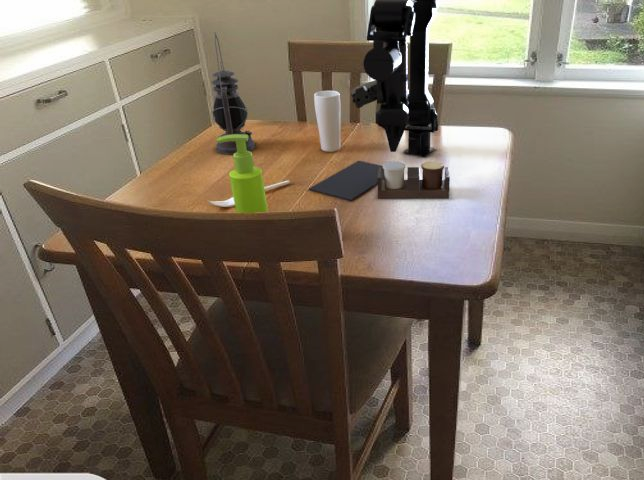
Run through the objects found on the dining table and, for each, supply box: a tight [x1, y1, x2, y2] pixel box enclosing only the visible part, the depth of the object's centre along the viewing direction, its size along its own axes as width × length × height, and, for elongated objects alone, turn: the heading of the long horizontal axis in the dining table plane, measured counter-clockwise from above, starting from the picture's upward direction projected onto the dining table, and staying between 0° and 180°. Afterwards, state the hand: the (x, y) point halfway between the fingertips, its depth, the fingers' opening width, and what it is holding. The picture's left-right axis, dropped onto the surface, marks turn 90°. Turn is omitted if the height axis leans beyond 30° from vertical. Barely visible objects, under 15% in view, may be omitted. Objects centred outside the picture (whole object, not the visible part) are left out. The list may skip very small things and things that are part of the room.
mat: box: [308, 160, 384, 202], centre depth 127 cm, size 20×12×1 cm, turn 147°
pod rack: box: [376, 166, 451, 200], centre depth 119 cm, size 6×16×5 cm, turn 87°
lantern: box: [210, 32, 256, 156], centre depth 140 cm, size 12×11×30 cm
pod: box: [420, 160, 445, 189], centre depth 117 cm, size 5×5×5 cm
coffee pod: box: [382, 160, 407, 189], centre depth 118 cm, size 5×5×5 cm
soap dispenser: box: [216, 134, 269, 213], centre depth 100 cm, size 6×7×20 cm
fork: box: [208, 180, 291, 208], centre depth 120 cm, size 3×20×2 cm, turn 131°
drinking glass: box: [313, 90, 342, 153], centre depth 141 cm, size 7×7×15 cm
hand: (393, 144), depth 114 cm, fingers open, 9 cm apart
